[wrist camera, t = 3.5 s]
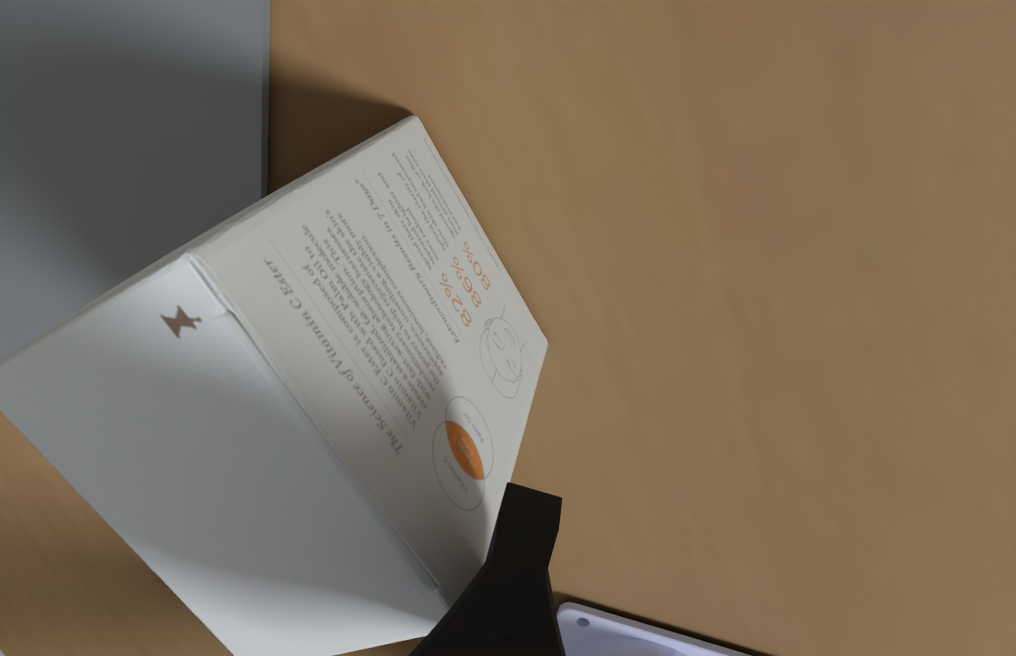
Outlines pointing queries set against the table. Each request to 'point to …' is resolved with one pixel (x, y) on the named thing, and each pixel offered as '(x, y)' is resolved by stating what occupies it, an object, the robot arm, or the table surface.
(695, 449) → the table surface
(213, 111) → the mat
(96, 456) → the small box
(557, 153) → the table surface
